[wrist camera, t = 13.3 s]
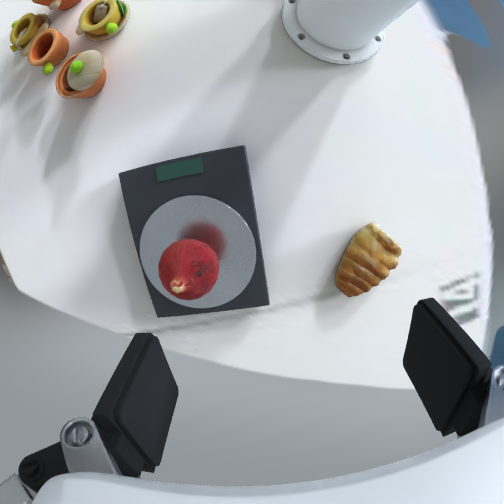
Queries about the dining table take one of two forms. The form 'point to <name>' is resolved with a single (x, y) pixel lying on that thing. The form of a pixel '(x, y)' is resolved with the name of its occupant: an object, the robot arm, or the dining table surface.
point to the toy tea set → (56, 45)
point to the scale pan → (205, 230)
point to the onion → (188, 269)
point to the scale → (196, 183)
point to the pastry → (367, 260)
